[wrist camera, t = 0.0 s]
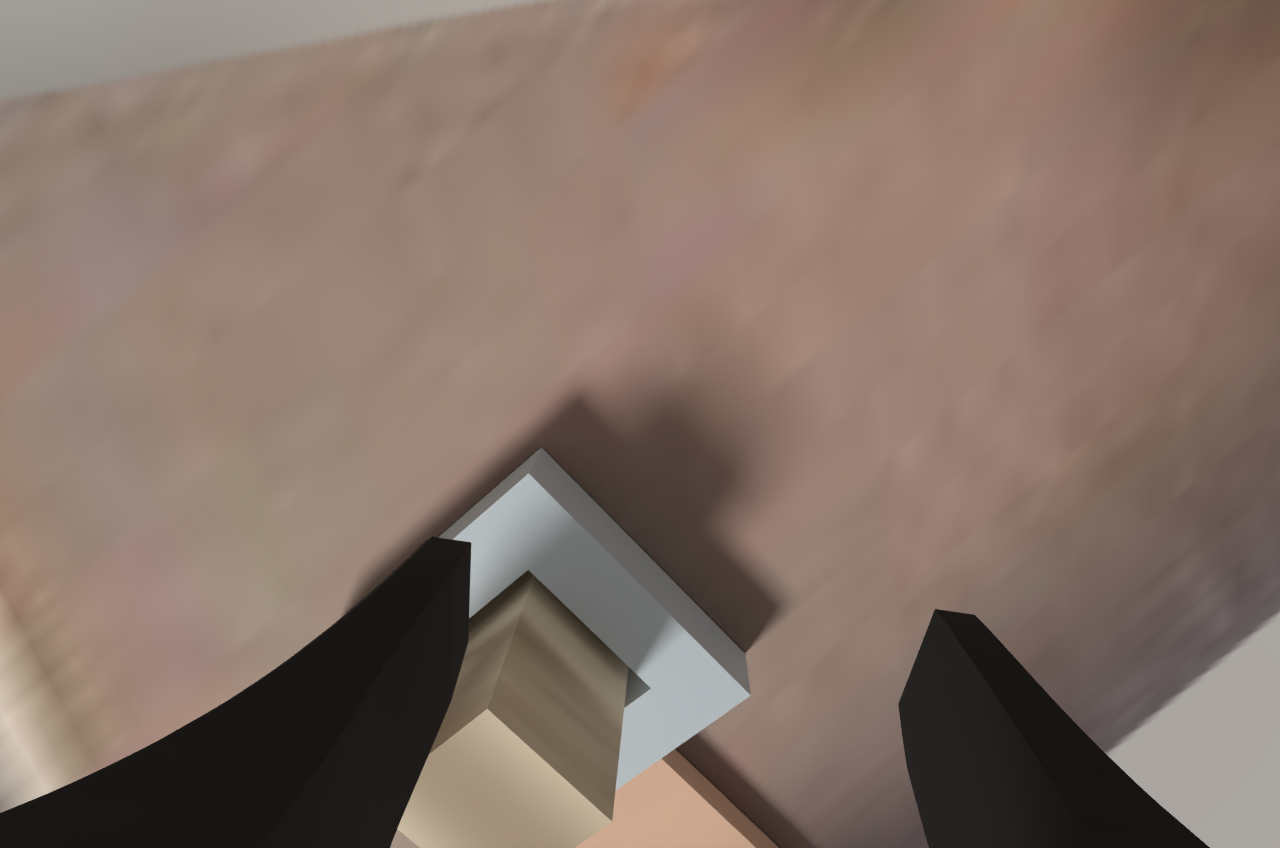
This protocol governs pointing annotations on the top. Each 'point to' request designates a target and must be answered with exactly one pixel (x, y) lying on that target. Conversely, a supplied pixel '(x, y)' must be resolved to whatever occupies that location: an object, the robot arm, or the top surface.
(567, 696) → the birch block
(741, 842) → the terracotta tile
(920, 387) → the top surface
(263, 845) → the robot arm
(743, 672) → the board
